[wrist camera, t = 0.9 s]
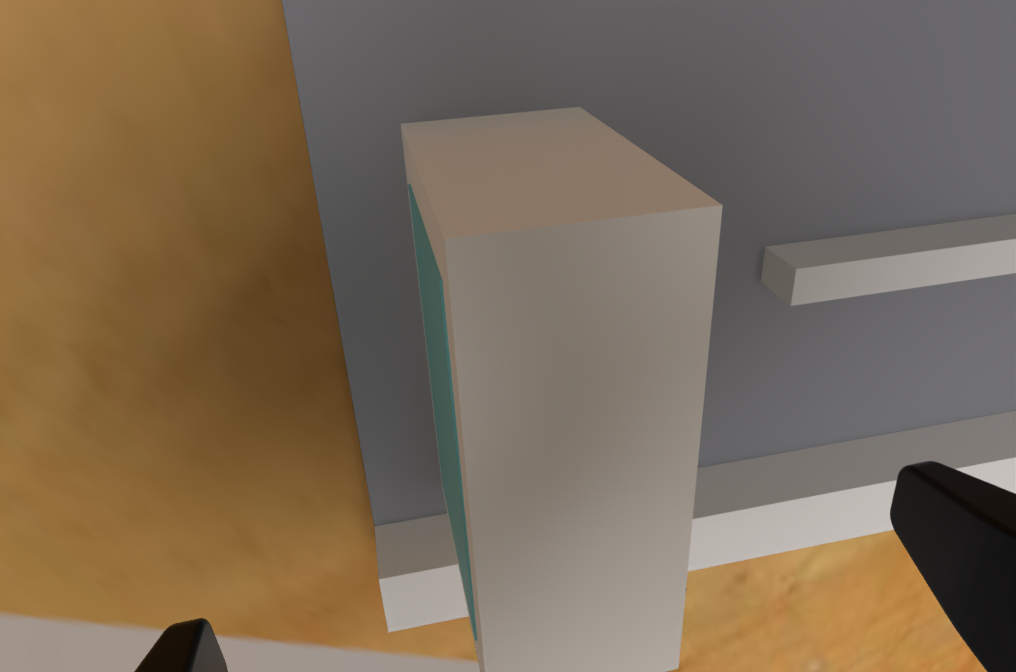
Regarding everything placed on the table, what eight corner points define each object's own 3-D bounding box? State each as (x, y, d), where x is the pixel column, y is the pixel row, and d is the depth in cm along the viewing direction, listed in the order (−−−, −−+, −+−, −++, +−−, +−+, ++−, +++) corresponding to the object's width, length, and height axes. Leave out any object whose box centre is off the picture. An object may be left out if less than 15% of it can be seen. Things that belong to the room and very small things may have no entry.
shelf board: (1230, -87, 19) (1395, -91, 16) (1045, 419, 27) (1134, 480, 24) (281, -29, 16) (270, -20, 13) (380, 542, 23) (388, 632, 20)
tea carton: (579, 106, 17) (722, 204, 11) (580, 462, 22) (678, 668, 16) (397, 124, 16) (440, 239, 10) (440, 486, 21) (485, 711, 15)
